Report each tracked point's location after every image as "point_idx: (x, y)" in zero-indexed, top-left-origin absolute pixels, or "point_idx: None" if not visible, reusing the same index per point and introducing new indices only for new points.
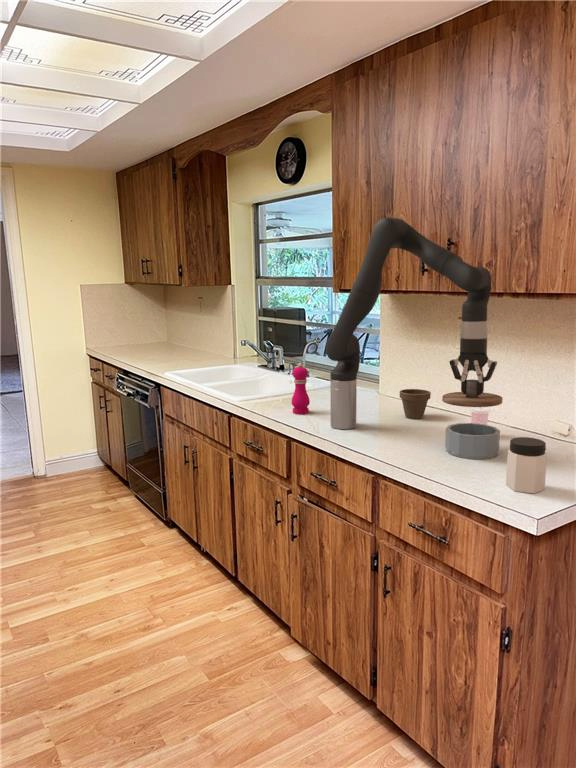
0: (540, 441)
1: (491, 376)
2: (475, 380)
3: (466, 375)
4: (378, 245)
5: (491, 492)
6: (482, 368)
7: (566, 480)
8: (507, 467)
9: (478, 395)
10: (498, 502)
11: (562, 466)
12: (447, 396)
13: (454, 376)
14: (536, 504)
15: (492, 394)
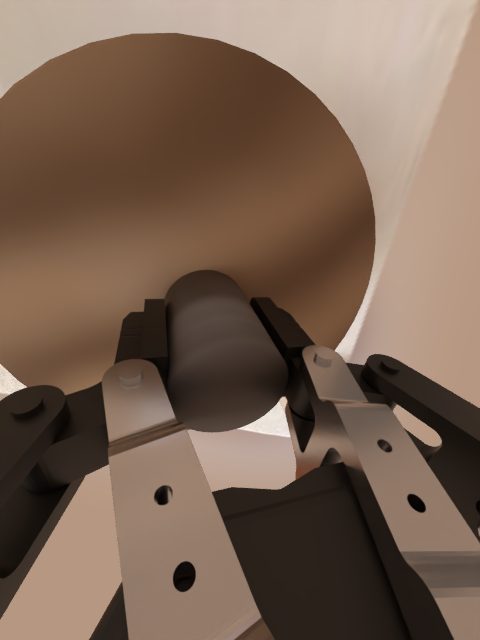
0: None
1: (421, 378)
2: (258, 380)
3: (159, 423)
4: None
5: None
6: (421, 458)
7: (358, 323)
8: (282, 407)
9: (238, 238)
10: (260, 430)
11: (377, 249)
12: (37, 352)
13: (19, 491)
14: None
15: (336, 161)
